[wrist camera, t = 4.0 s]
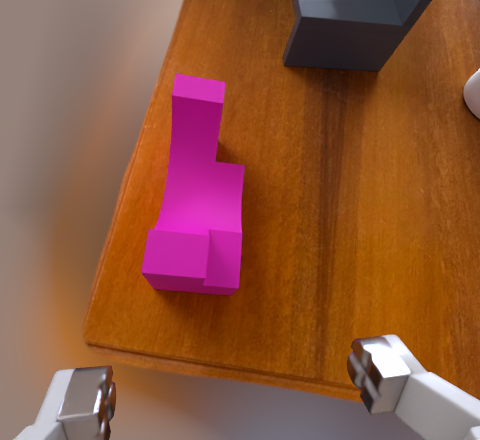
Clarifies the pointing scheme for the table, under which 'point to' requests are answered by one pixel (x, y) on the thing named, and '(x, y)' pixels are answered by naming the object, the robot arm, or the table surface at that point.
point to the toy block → (197, 200)
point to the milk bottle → (473, 94)
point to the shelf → (349, 32)
